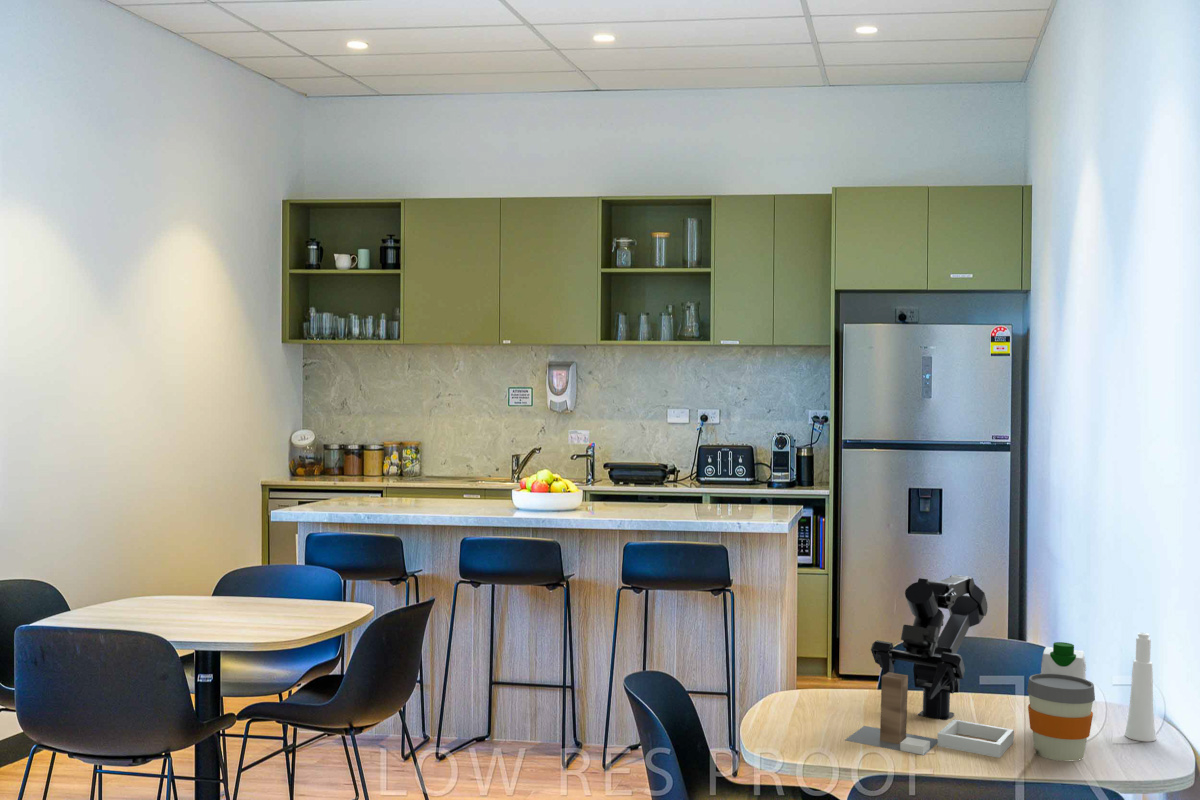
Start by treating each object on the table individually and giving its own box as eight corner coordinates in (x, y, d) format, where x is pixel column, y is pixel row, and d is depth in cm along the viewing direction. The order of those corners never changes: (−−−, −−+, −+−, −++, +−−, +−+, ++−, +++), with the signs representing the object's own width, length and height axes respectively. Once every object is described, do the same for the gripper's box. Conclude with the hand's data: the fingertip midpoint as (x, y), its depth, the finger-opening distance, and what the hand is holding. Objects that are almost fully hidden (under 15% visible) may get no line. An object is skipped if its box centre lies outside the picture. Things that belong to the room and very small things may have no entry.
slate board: (864, 732, 240) (864, 725, 240) (940, 747, 232) (941, 739, 232) (844, 747, 230) (844, 739, 230) (923, 763, 221) (924, 755, 221)
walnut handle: (886, 735, 233) (888, 672, 233) (906, 739, 231) (907, 675, 231) (879, 740, 230) (881, 675, 230) (899, 744, 228) (901, 679, 228)
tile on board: (907, 744, 228) (907, 736, 228) (929, 748, 226) (929, 741, 226) (900, 750, 224) (900, 742, 224) (923, 754, 222) (923, 747, 222)
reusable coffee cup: (1097, 753, 230) (1099, 679, 230) (1088, 771, 219) (1090, 693, 219) (1031, 742, 236) (1033, 670, 236) (1019, 758, 225) (1022, 683, 225)
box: (953, 738, 238) (953, 719, 238) (1013, 749, 231) (1013, 729, 231) (937, 753, 227) (937, 733, 227) (999, 765, 221) (1000, 744, 221)
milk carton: (1037, 739, 238) (1040, 644, 238) (1040, 728, 247) (1043, 635, 246) (1083, 746, 235) (1086, 649, 234) (1084, 734, 243) (1087, 640, 243)
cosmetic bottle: (1135, 731, 246) (1138, 629, 246) (1162, 739, 241) (1165, 635, 241) (1118, 735, 243) (1122, 632, 242) (1145, 743, 238) (1149, 638, 237)
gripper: (875, 602, 246) (856, 664, 237) (964, 616, 236) (946, 681, 227) (885, 632, 253) (866, 693, 244) (971, 646, 243) (955, 710, 234)
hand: (907, 694), depth 237 cm, fingers open, 9 cm apart
